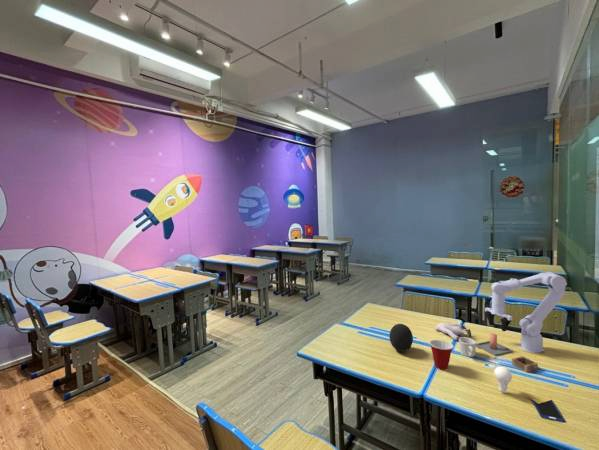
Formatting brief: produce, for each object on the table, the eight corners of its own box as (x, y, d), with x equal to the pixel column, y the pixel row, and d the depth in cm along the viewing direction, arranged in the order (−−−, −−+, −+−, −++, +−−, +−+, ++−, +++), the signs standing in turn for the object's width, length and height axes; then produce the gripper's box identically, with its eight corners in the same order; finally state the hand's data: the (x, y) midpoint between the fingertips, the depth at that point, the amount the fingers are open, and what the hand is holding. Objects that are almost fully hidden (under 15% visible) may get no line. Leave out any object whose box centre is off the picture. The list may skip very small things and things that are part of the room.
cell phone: (541, 418, 105) (541, 416, 105) (528, 395, 117) (528, 393, 117) (566, 424, 102) (566, 422, 102) (550, 399, 114) (550, 397, 114)
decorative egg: (399, 342, 165) (398, 318, 164) (417, 351, 155) (417, 325, 154) (385, 349, 159) (384, 323, 158) (403, 358, 148) (403, 331, 147)
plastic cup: (453, 363, 142) (453, 340, 141) (453, 375, 133) (453, 350, 132) (430, 358, 147) (429, 336, 146) (428, 369, 138) (428, 346, 137)
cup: (481, 362, 142) (481, 347, 141) (464, 361, 143) (464, 346, 143) (472, 351, 152) (472, 337, 152) (456, 350, 154) (456, 336, 153)
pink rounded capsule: (492, 346, 155) (492, 333, 155) (498, 349, 152) (498, 335, 152) (488, 347, 155) (488, 334, 154) (493, 350, 151) (493, 336, 151)
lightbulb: (512, 399, 115) (512, 373, 114) (494, 394, 118) (494, 369, 118) (510, 390, 120) (511, 365, 120) (493, 386, 124) (493, 362, 123)
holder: (522, 363, 140) (522, 356, 140) (537, 370, 133) (537, 363, 133) (511, 365, 138) (511, 358, 138) (526, 373, 131) (526, 366, 131)
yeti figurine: (475, 336, 173) (442, 326, 188) (476, 325, 173) (442, 316, 188) (465, 345, 160) (429, 334, 175) (466, 333, 160) (430, 323, 175)
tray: (491, 342, 161) (491, 340, 161) (512, 353, 149) (512, 350, 149) (475, 346, 158) (475, 343, 158) (495, 357, 146) (495, 354, 146)
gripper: (480, 300, 161) (480, 323, 162) (505, 309, 147) (504, 334, 148) (490, 299, 163) (490, 322, 164) (515, 308, 149) (514, 332, 150)
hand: (497, 328), depth 156 cm, fingers open, 7 cm apart
